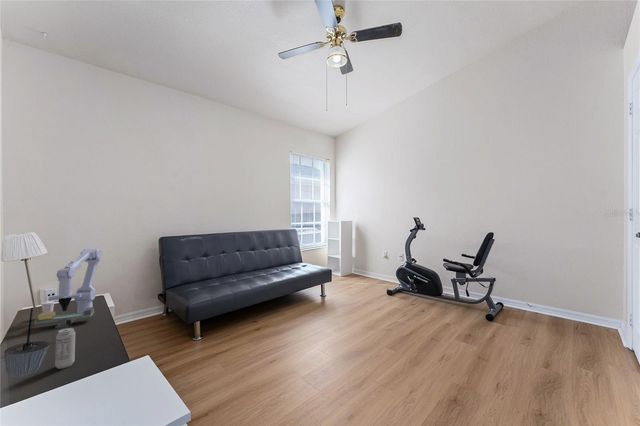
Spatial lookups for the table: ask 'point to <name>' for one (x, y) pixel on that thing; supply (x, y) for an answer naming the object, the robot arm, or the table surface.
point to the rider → (46, 316)
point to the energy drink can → (65, 348)
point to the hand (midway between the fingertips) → (64, 310)
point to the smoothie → (47, 306)
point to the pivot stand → (64, 323)
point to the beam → (68, 316)
